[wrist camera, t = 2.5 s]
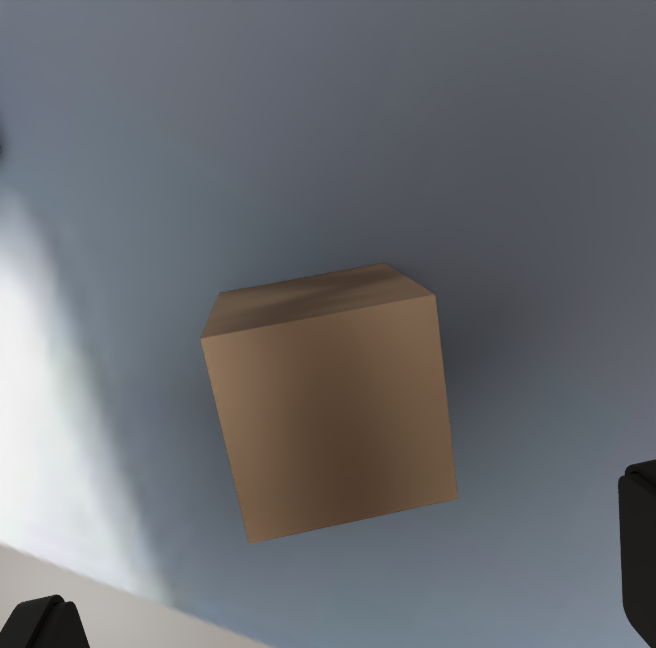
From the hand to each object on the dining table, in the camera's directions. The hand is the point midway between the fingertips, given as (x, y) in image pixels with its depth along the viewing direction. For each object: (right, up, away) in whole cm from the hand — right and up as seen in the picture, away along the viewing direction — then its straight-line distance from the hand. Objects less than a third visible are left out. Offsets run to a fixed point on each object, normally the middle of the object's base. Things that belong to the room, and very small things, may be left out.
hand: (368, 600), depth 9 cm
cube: (-1, +3, +11) cm, 12 cm away
